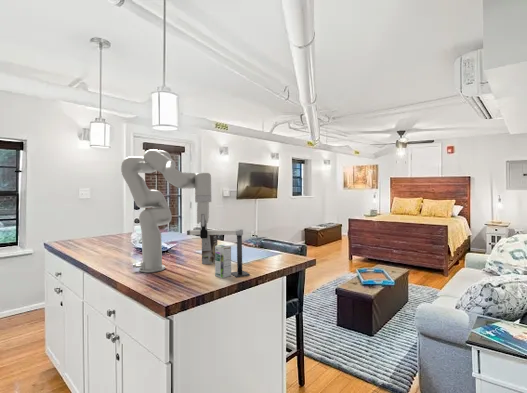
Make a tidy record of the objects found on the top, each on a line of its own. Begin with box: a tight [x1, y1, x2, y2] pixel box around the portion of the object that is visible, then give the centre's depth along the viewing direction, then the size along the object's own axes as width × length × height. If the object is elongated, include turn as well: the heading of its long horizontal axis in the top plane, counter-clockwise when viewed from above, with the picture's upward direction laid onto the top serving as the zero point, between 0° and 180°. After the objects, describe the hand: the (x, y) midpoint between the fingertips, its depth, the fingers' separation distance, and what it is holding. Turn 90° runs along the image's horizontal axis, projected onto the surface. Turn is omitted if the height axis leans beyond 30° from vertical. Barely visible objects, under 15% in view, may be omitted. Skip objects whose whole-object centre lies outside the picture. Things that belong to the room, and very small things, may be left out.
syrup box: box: [214, 244, 232, 279], centre depth 150 cm, size 6×6×14 cm
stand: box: [231, 235, 250, 278], centre depth 151 cm, size 7×7×19 cm
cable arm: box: [186, 229, 244, 236], centre depth 152 cm, size 27×4×2 cm, turn 86°
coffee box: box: [201, 235, 218, 265], centre depth 178 cm, size 9×6×16 cm
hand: (204, 237), depth 149 cm, fingers closed
